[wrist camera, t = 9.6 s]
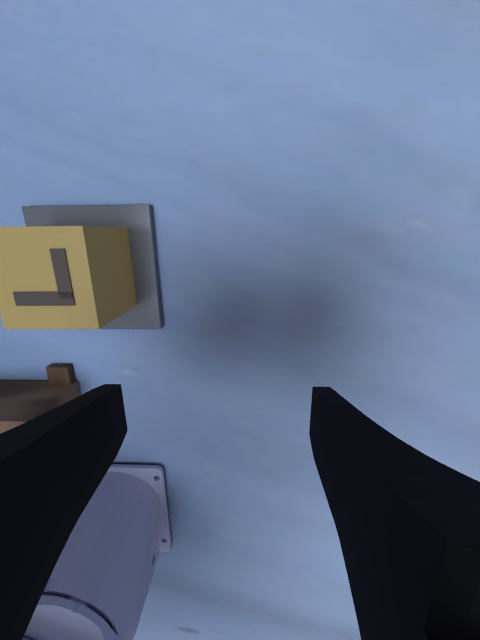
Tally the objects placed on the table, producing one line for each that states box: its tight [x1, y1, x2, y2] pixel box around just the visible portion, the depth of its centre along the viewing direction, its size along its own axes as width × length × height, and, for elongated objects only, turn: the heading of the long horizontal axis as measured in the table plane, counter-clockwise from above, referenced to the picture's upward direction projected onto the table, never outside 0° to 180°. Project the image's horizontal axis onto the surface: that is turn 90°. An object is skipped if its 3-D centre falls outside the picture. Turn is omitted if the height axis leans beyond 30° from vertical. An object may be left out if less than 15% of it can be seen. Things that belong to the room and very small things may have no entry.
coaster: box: [22, 205, 163, 329], centre depth 19 cm, size 8×8×1 cm
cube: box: [0, 226, 137, 329], centre depth 16 cm, size 5×5×5 cm
